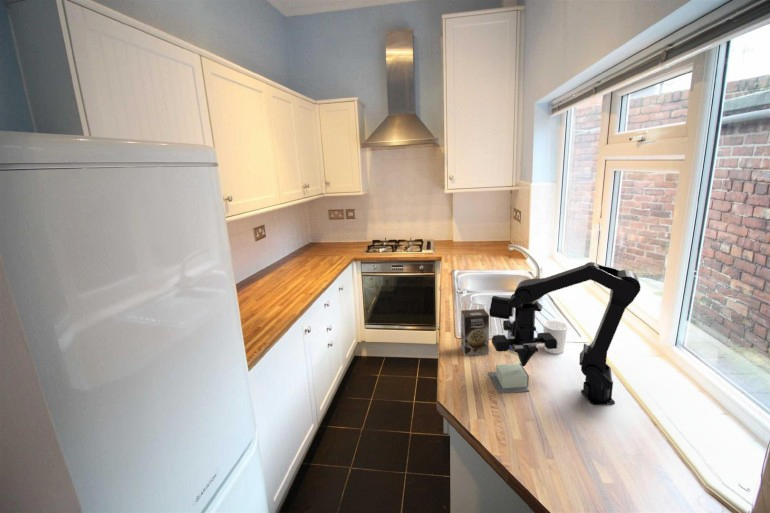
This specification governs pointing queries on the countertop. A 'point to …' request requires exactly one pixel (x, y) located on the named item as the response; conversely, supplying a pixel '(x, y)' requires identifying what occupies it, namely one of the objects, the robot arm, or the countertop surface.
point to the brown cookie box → (474, 332)
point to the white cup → (556, 335)
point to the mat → (505, 390)
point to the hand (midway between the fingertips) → (522, 365)
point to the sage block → (512, 375)
